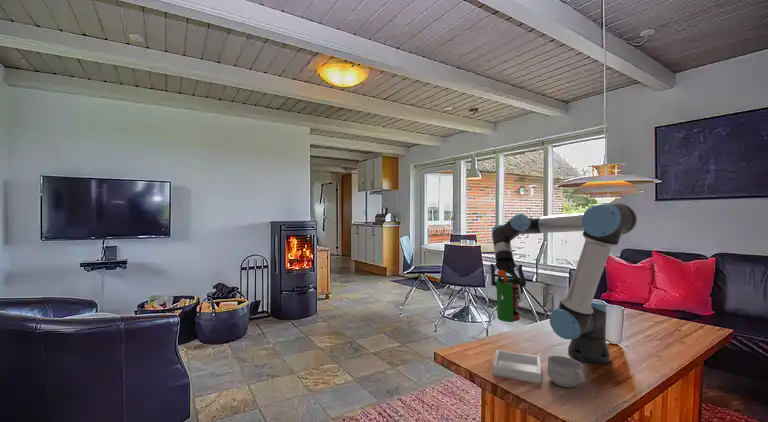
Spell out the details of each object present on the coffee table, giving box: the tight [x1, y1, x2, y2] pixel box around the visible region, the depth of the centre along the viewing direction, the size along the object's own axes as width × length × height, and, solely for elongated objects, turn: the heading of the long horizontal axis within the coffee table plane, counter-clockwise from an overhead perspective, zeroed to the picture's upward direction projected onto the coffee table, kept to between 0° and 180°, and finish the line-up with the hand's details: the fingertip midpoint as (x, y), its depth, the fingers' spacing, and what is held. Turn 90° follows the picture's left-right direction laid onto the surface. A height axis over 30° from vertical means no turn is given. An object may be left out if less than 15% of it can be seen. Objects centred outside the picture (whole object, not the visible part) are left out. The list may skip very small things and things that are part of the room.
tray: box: [492, 349, 542, 384], centre depth 140 cm, size 16×16×4 cm
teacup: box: [546, 355, 586, 388], centre depth 128 cm, size 14×11×8 cm
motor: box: [495, 269, 521, 323], centre depth 155 cm, size 10×9×20 cm
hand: (511, 299), depth 152 cm, fingers closed on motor, 6 cm apart
